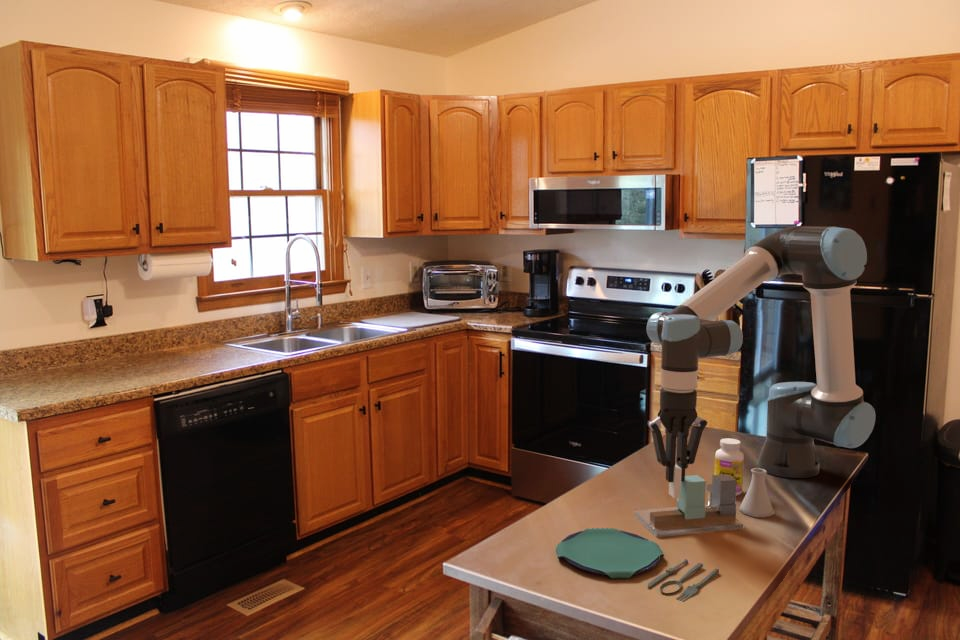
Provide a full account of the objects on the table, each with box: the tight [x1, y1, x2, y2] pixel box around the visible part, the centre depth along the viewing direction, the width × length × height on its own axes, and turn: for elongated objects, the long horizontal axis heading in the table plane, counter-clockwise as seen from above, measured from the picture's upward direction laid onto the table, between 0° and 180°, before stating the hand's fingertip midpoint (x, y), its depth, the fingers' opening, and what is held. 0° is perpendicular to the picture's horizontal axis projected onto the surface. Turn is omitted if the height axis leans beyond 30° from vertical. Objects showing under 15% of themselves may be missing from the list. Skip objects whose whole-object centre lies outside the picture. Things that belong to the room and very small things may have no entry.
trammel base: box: [633, 474, 744, 538], centre depth 177 cm, size 20×12×11 cm, turn 102°
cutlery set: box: [555, 527, 720, 602], centre depth 158 cm, size 20×30×2 cm, turn 47°
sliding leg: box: [676, 474, 707, 519], centre depth 177 cm, size 4×8×9 cm, turn 12°
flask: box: [739, 467, 775, 518], centre depth 183 cm, size 7×7×10 cm
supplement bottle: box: [713, 437, 745, 496], centre depth 195 cm, size 7×7×13 cm
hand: (674, 495), depth 174 cm, fingers closed
